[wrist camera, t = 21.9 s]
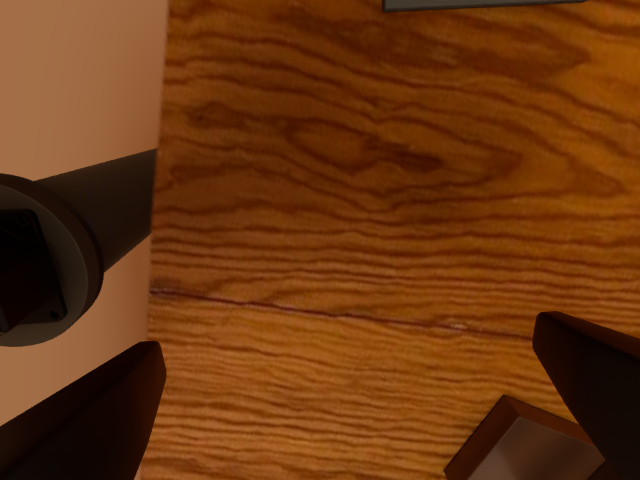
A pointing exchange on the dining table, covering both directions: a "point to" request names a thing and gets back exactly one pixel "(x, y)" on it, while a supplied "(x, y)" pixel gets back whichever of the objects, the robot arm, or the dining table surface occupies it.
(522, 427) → the dark brown bookend
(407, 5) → the mat
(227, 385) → the dining table surface
